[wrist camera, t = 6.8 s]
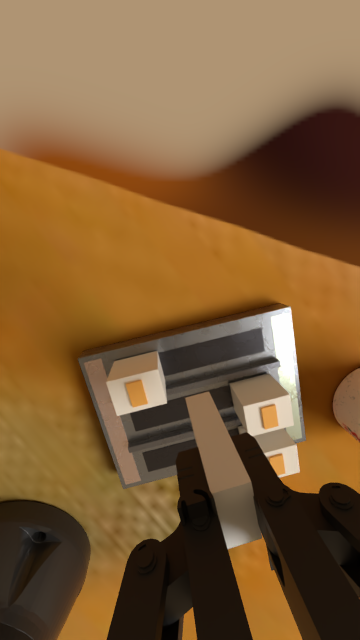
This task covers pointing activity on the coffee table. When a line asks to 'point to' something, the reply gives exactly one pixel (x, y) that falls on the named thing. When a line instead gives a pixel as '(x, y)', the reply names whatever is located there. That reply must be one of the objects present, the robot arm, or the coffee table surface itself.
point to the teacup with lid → (348, 404)
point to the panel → (192, 385)
